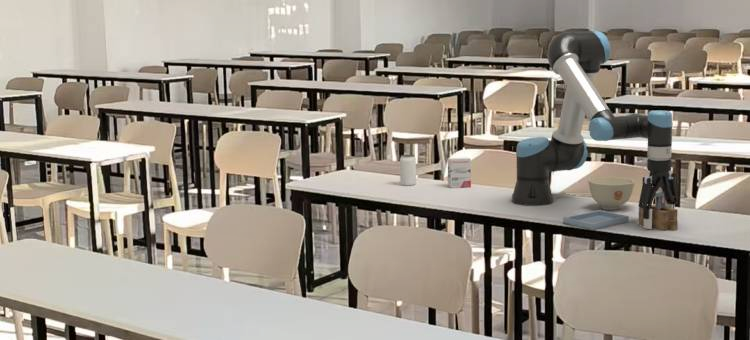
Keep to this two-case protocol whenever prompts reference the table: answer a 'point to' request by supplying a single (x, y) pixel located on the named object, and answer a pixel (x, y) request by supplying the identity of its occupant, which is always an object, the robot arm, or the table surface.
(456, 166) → the ink box
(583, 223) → the tray
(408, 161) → the can
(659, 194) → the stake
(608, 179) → the bowl
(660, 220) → the brown wooden hollow block
